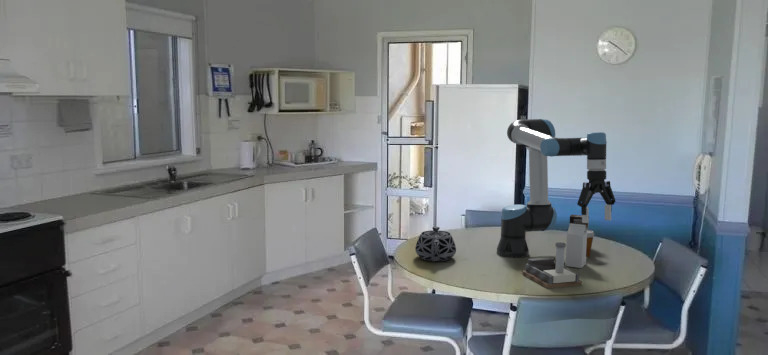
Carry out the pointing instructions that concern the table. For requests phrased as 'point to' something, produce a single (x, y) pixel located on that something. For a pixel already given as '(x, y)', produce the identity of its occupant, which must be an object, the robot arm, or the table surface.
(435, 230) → the black lattice pot
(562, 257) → the white pillar stand
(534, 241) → the table surface
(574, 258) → the milk carton
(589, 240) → the disposable coffee cup
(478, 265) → the table surface
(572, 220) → the coffee box
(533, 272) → the base
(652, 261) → the table surface
